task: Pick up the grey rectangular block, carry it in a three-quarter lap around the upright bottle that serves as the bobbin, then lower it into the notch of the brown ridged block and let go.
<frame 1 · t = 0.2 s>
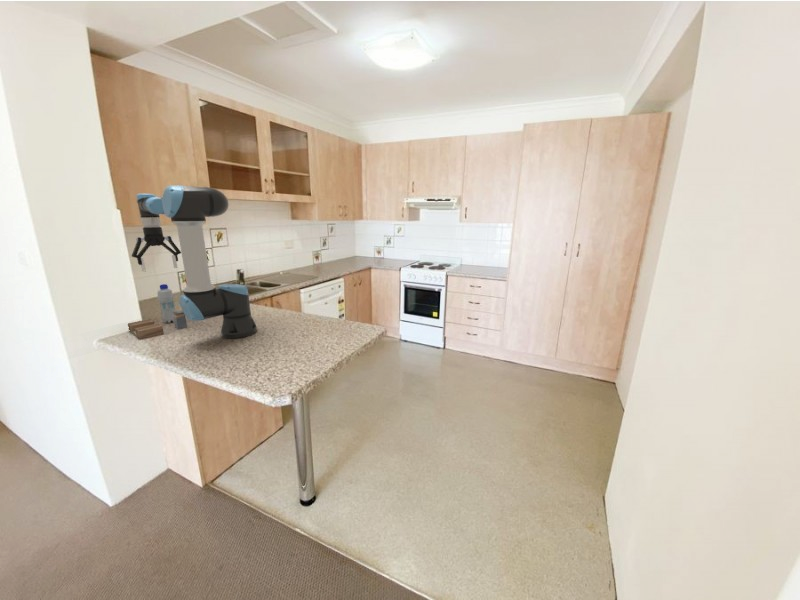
hand: (160, 269, 165), 27 cm above the countertop, fingers open, 13 cm apart
bottle: (170, 322, 170), on the countertop
brown ridged block: (146, 332, 154), on the countertop
grey rectangular block: (181, 327, 161), on the countertop
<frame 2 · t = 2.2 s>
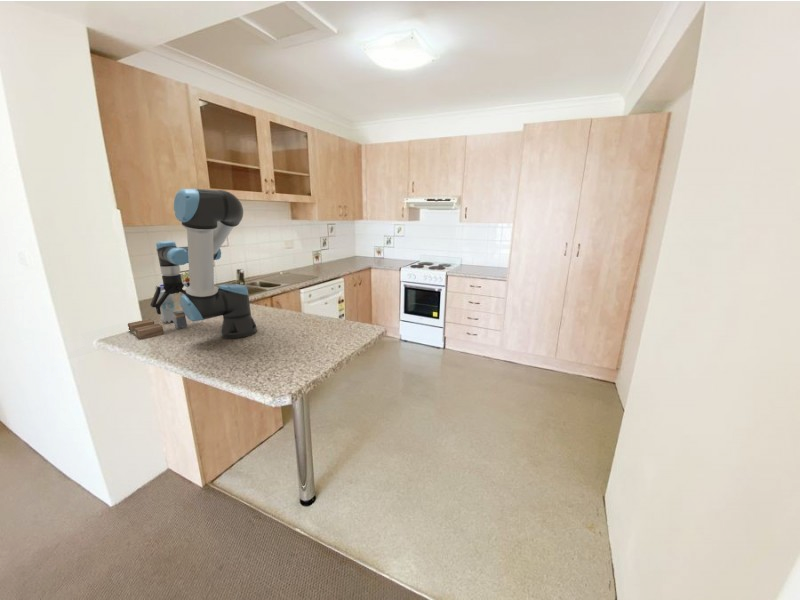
hand: (178, 316, 160), 5 cm above the countertop, fingers open, 13 cm apart
nothing on the countertop moved.
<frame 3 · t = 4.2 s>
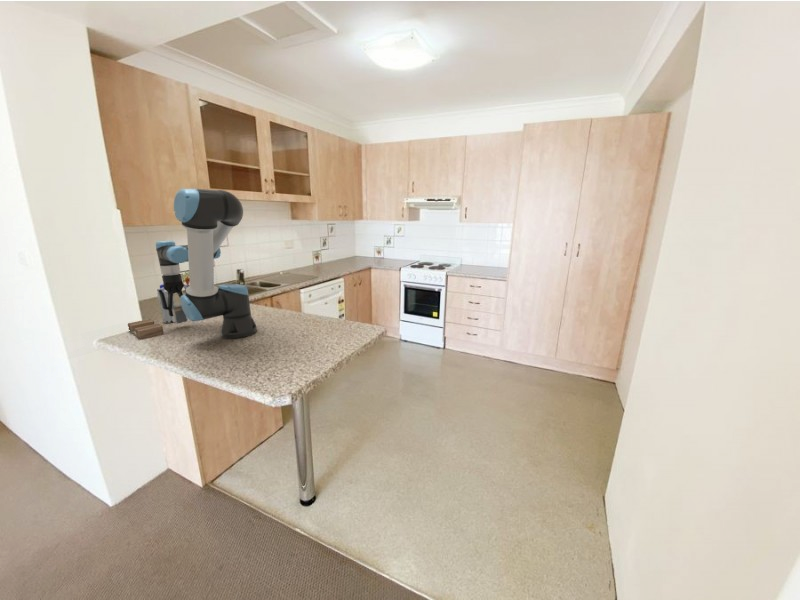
hand: (180, 320, 160), 4 cm above the countertop, fingers closed on grey rectangular block, 4 cm apart
grey rectangular block: (180, 321, 160), point 3 cm above the countertop, touching gripper
everything else where it was.
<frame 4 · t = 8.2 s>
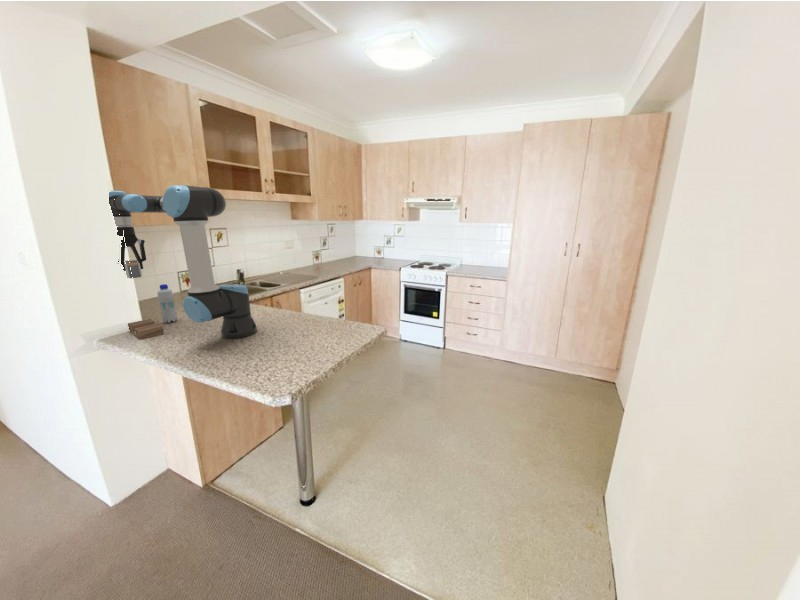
hand: (134, 276, 154), 26 cm above the countertop, fingers closed on grey rectangular block, 4 cm apart
grey rectangular block: (134, 277, 155), point 25 cm above the countertop, touching gripper
everything else where it was.
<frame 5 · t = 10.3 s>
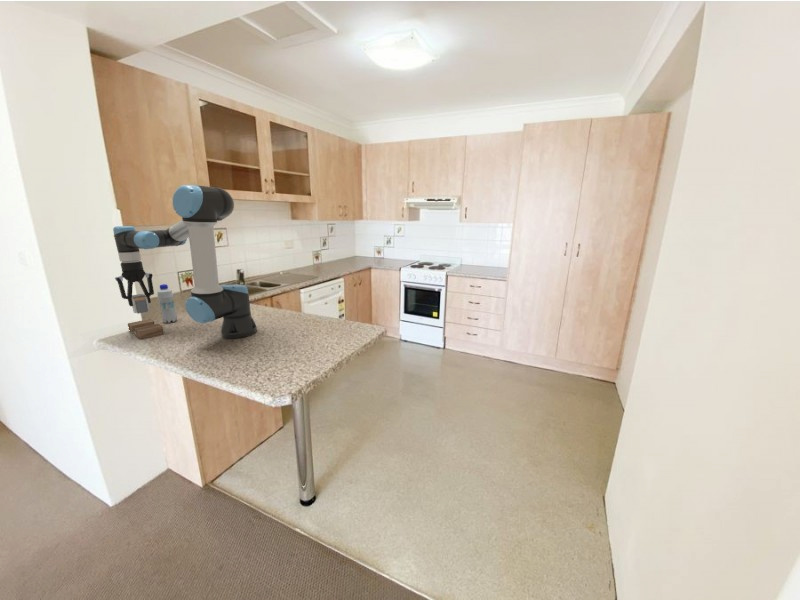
hand: (141, 311, 152), 11 cm above the countertop, fingers closed on grey rectangular block, 4 cm apart
grey rectangular block: (141, 311, 152), point 10 cm above the countertop, touching gripper
everything else where it was.
when the fingers open (2 cm above the countertop, at t = 12.1 s): grey rectangular block stays where it is, resting on brown ridged block.
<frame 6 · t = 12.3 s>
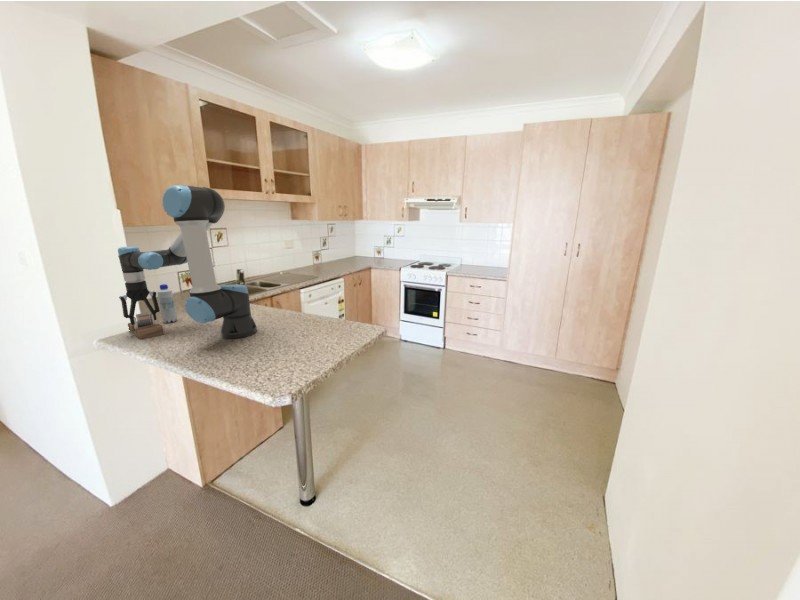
hand: (145, 328, 154), 2 cm above the countertop, fingers open, 6 cm apart
grey rectangular block: (145, 330, 154), point 1 cm above the countertop, touching brown ridged block
everything else where it was.
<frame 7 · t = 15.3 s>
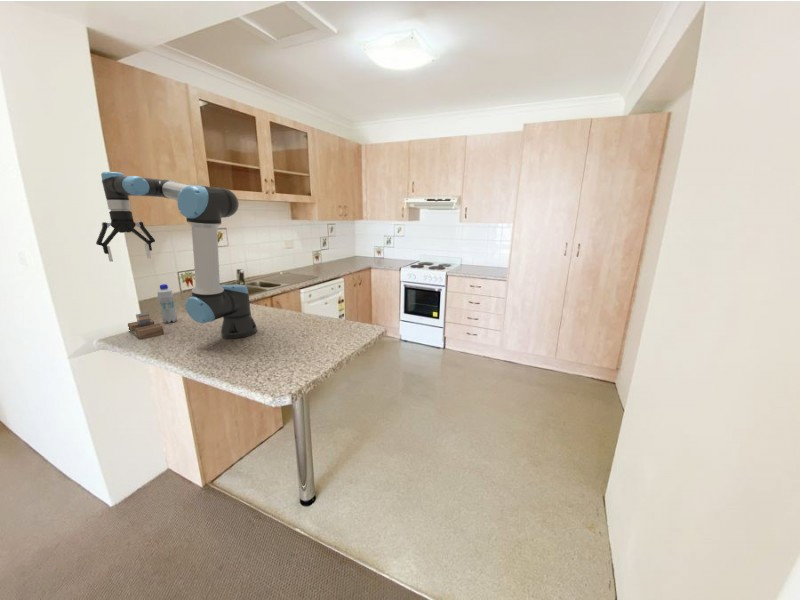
hand: (130, 259, 145), 35 cm above the countertop, fingers open, 13 cm apart
nothing on the countertop moved.
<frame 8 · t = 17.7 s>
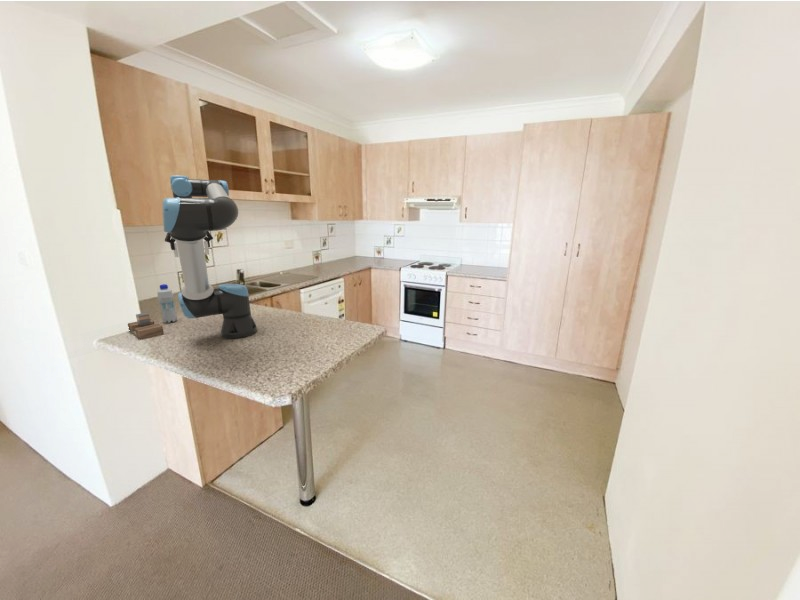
hand: (192, 255, 159), 35 cm above the countertop, fingers open, 13 cm apart
nothing on the countertop moved.
at the end: grey rectangular block 0.1 cm off-centre on the brown ridged block, point 1.1 cm above the brown ridged block's base; grey rectangular block tilted 0°; bottle moved 0.2 cm from its start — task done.
